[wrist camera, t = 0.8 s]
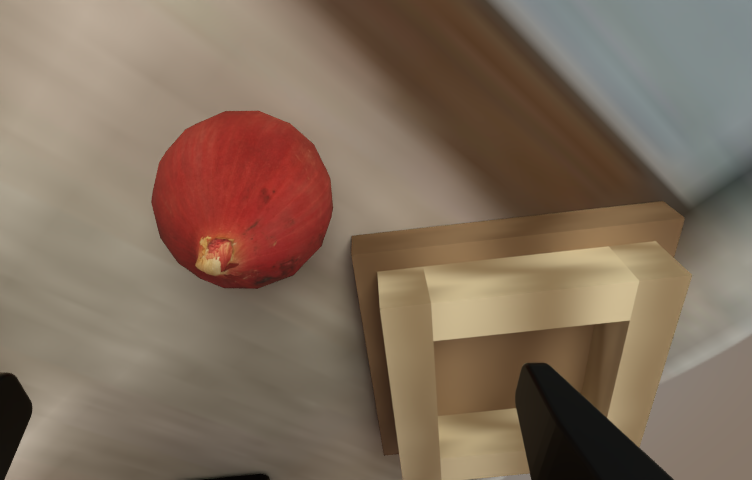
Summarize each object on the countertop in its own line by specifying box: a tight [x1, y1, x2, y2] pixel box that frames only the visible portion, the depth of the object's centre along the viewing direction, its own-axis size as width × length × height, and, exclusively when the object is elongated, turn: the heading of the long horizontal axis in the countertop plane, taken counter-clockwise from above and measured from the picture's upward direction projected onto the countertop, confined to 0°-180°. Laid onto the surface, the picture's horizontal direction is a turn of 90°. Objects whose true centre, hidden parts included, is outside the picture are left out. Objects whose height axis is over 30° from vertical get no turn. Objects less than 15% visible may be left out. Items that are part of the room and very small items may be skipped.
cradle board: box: [351, 201, 692, 480], centre depth 23 cm, size 14×14×4 cm
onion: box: [151, 111, 333, 289], centre depth 15 cm, size 6×6×8 cm
